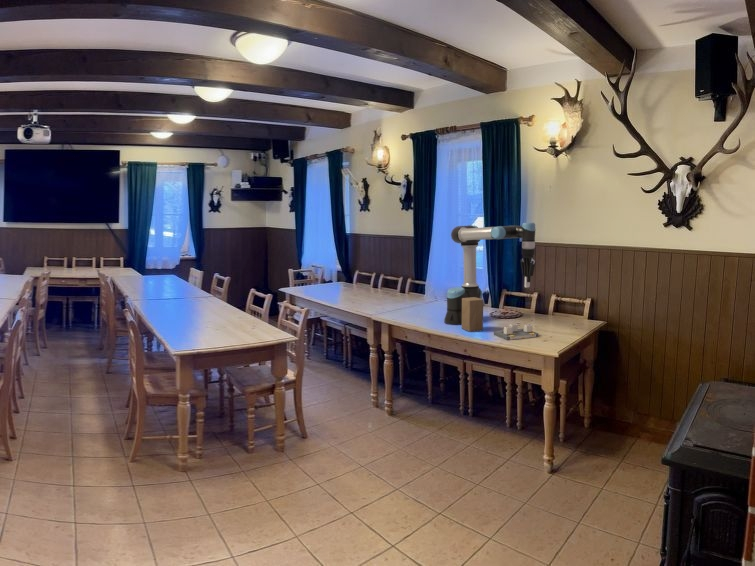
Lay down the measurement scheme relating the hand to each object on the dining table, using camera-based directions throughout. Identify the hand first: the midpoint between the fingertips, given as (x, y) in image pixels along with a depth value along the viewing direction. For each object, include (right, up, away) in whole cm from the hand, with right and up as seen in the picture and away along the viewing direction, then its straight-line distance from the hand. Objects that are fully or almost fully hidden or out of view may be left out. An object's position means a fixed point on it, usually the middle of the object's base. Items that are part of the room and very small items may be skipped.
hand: (527, 287), depth 312 cm
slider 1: (-14, -27, -8) cm, 32 cm away
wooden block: (-31, -27, +14) cm, 44 cm away
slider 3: (0, -27, -3) cm, 27 cm away
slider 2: (-9, -26, -1) cm, 28 cm away
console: (-8, -29, -3) cm, 30 cm away
